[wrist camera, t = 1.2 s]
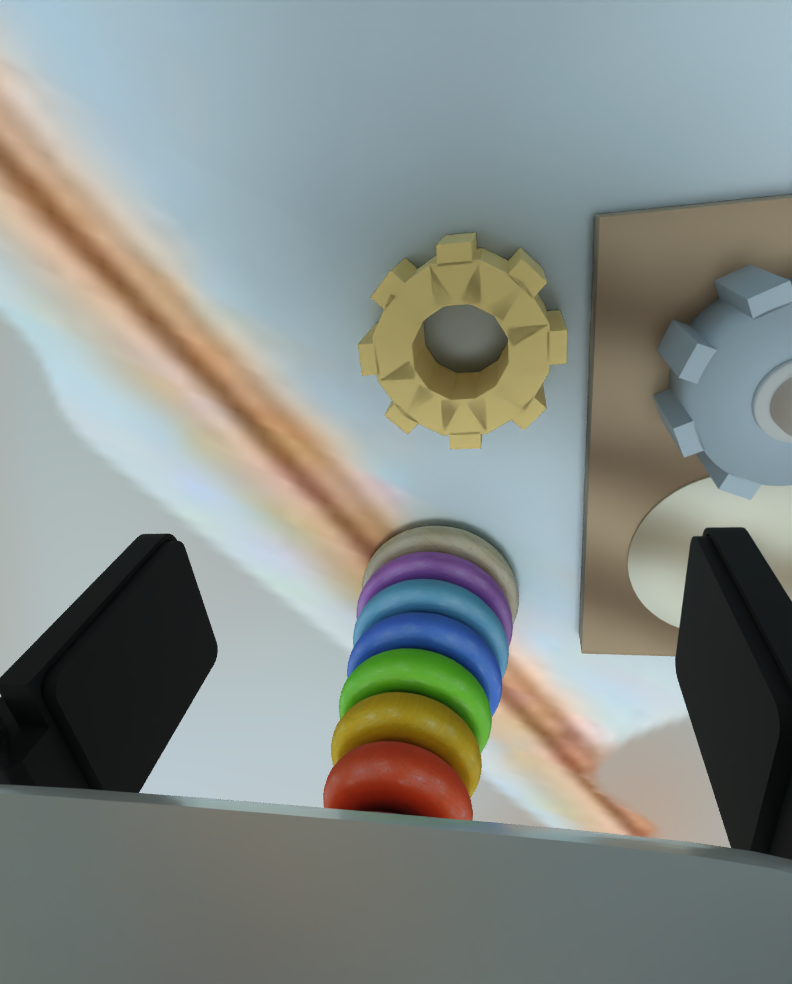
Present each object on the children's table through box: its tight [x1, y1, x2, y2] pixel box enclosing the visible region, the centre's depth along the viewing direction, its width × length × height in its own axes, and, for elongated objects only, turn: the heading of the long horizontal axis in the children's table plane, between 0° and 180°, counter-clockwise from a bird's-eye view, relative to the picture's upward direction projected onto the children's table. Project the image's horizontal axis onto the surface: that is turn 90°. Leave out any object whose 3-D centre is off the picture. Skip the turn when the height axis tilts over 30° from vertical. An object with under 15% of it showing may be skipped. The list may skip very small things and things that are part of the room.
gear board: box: [579, 194, 792, 656], centre depth 23 cm, size 20×12×6 cm, turn 6°
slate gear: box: [653, 265, 792, 500], centre depth 21 cm, size 8×8×4 cm
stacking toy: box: [323, 526, 519, 821], centre depth 24 cm, size 8×8×19 cm
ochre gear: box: [358, 232, 567, 449], centre depth 24 cm, size 8×8×4 cm
